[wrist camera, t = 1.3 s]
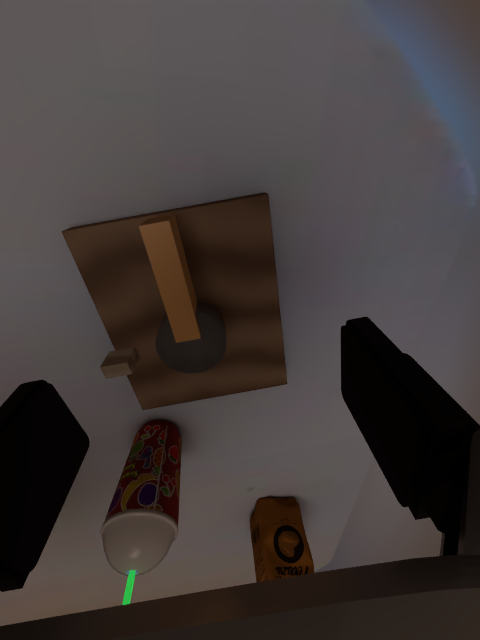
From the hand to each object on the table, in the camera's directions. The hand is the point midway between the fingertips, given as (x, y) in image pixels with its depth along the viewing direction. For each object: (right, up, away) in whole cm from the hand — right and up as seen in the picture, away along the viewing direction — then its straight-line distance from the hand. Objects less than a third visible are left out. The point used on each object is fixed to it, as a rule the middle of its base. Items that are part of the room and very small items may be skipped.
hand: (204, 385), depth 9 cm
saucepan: (-5, +5, +20) cm, 21 cm away
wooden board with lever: (-4, +3, +25) cm, 26 cm away
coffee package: (+8, -37, +48) cm, 61 cm away
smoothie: (-11, -15, +35) cm, 39 cm away
